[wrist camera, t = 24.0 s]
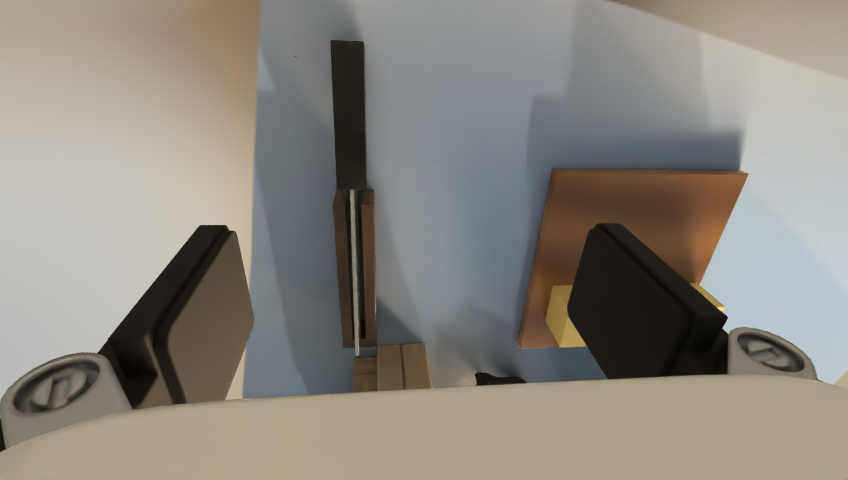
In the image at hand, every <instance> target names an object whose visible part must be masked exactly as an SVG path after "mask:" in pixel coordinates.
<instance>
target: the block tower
mask: <svg viewBox="0 0 848 480" xmlns="http://www.w3.org/2000/svg"><path fill="white" fill-rule="evenodd" d="M353 375H354V376H353V389H352V393H357V392H375V391H393V390H411V389H429V388H432V384H431V378H430V373H429V367H428V360H427V354H426V348H425V344H424V343H415V344H404V345H402V346H401V347H400V345H399V344H393V345H380V346H378V347H377V357H364V358H355V359H354V371H353Z"/></svg>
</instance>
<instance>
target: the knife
mask: <svg viewBox="0 0 848 480" xmlns="http://www.w3.org/2000/svg"><path fill="white" fill-rule="evenodd" d="M331 65H332V88H333V112H334V135H335V158H336V182H337V189H350V209H351V239H352V269H353V299H354V329H355V355H359V349H360V338H361V304H360V268H359V232H358V197H357V189H367V185H368V174H367V125H366V76H365V46H364V42H362V41H339V40H331Z"/></svg>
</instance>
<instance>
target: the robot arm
mask: <svg viewBox="0 0 848 480" xmlns="http://www.w3.org/2000/svg"><path fill="white" fill-rule="evenodd" d="M567 313H568V317H569V319H570V320H571V322H572V323H573V325H574V327H575V328H576V330H577V331H578V333H579V335H580V336H581V338H582V339H583V341H584V342H585V344H586V346H587V347H588V349H589V350H590V352H591V354H592V355H593V357H594V358H595V360H596V362H597V363H598V365H599V366H600V368H601V370H602V371H603V373H604V374H605V376H606V378H607V379H605V380H584V381H564V382H544V383H525V384H505V385H486V386H467V387H448V388H429V389H411V390H393V391H375V392H357V393H340V394H323V395H305V396H288V397H271V398H253V399H236V400H225V399H226V396H227V393H228V391H229V388H230V385H231V383H232V380H233V378H234V375H235V373H236V370H237V367H238V365H239V362H240V360H241V357H242V354H243V352H244V349H245V346H246V344H247V341H248V339H249V336H250V333H251V331H252V328H253V322H254V316H253V310H252V305H251V300H250V295H249V290H248V286H247V281H246V276H245V271H244V266H243V261H242V256H241V252H240V247H239V242H238V237H237V234H236V232H235V231H229V229H228V227H227V226H226V225H200V226H199V227H198V228H197V229H196V231H195V232H194V233H193V234H192V236H191V237H190V238H189V239H188V241H187V242H186V243H185V244H184V245H183V247H182V248H181V249H180V250H179V252H178V253H177V254H176V255H175V257H174V258H173V259H172V260H171V262H170V263H169V264H168V265H167V267H166V268H165V269H164V270H163V272H162V273H161V274H160V275H159V277H158V278H157V279H156V280H155V281H154V283H153V284H152V285H151V287H150V288H149V289H148V290H147V291H146V293H145V294H144V295H143V296H142V297H141V299H140V300H139V301H138V303H137V304H136V305H135V306H134V307H133V309H132V310H131V311H130V312H129V314H128V315H127V316H126V317H125V318H124V320H123V321H122V322H121V323H120V325H119V326H118V327H117V328H116V330H115V331H114V332H113V333H112V335H111V336H110V337H109V338H108V341H107V342H106V343H105V344H104V346H103V347H102V348H101V350H100V351H99V352H98V353H76V354H71V355H65V356H62V357H59V358H56V359H53V360H51V361H48V362H46V363H44V364H42V365H40V366H38V367H36V368H34V369H32V370H31V371H29V372H28V373H26V374H25V375H23V376H22V377H20V378H19V379H18V380H17V381H16V382H15V383H14V384H13V385H11V386H10V387H9V388H8V390H7V391H6V393H5V394H4V396H3V397H2V399H1V401H0V480H848V388H845V387H840V386H836V385H832V384H828V383H825V382H822V381H820V380H818V379H817V375H816V370H815V367H814V365H813V363H812V361H811V359H810V358H809V357H808V356H807V355H806V354H805V353H804V352H803V351H802V350H800V349H799V348H798V347H796V346H795V345H794V344H792V343H790V342H789V341H787V340H785V339H783V338H781V337H779V336H777V335H774V334H772V333H770V332H767V331H763V330H759V329H756V328H748V327H741V328H735V329H733V330H732V331H730V333H729V334H728V333H726V332H725V331H724V330H723V329H722V328H723V326H724V324H725V322H726V320H727V319H728V317H727V316H726V315H725V314H724V313H723V312H722V311H720V310H719V309H718V308H717V307H716V306H715V305H714V304H712V303H711V302H710V301H709V300H708V299H707V298H706V297H704V296H703V295H702V294H701V293H700V292H699V291H698V290H696V289H695V288H694V287H693V286H692V285H691V284H690V283H688V282H687V281H686V280H685V279H684V278H683V277H682V276H680V275H679V274H678V273H677V272H676V271H675V270H674V269H672V268H671V267H670V266H669V265H668V264H667V263H666V262H664V261H663V260H662V259H661V258H660V257H659V256H658V255H656V254H655V253H654V252H653V251H652V250H651V249H649V248H648V247H647V246H646V245H645V244H644V243H643V242H641V241H640V240H639V239H638V238H637V237H636V236H635V235H633V234H632V233H631V232H630V231H629V230H628V229H627V228H625V227H624V226H623V225H622V224H620V223H598V224H597V225H596V226H595V227H594V228H592V229H590V230H589V232H588V234H587V238H586V241H585V245H584V248H583V252H582V255H581V259H580V262H579V266H578V269H577V273H576V276H575V280H574V283H573V287H572V290H571V294H570V297H569V301H568V305H567Z"/></svg>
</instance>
